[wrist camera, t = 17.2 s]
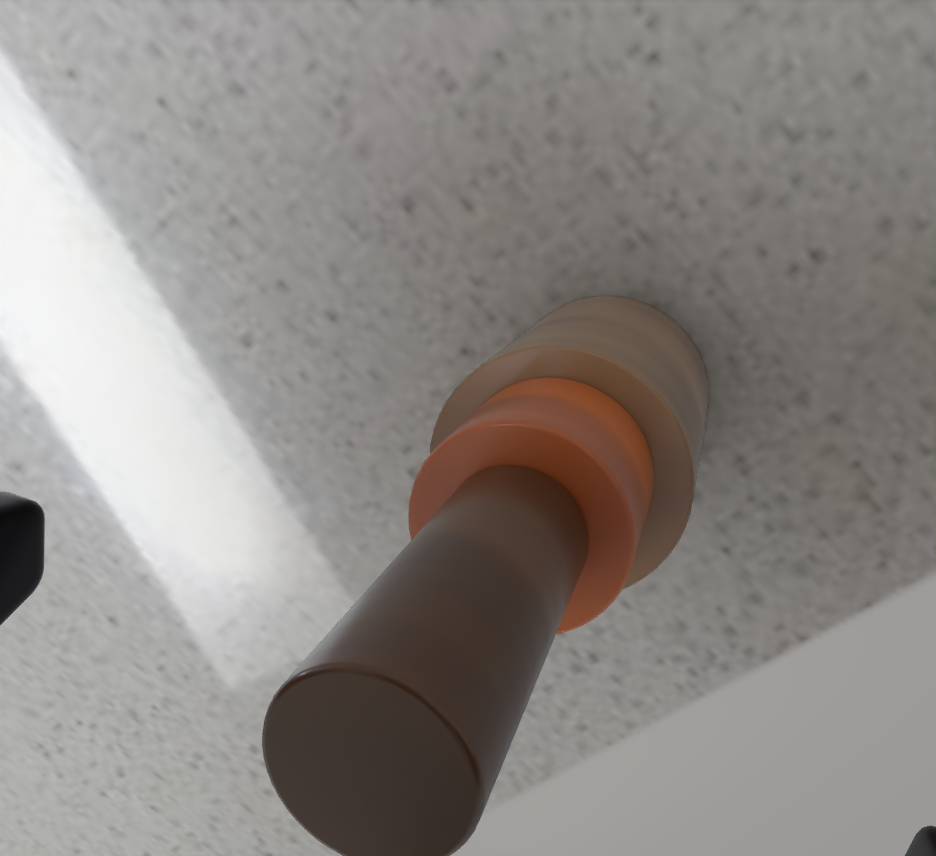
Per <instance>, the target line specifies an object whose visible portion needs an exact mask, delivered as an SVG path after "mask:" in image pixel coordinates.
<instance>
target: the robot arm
mask: <svg viewBox="0 0 936 856" xmlns="http://www.w3.org/2000/svg"><path fill="white" fill-rule="evenodd" d="M44 530H45V517H44V512H43V510H42V507H41V506H40V505H39V504H38V503H37V502H35V501H32V500H30V499H27V498H24V497H21V496H19V495H16V494H13V493H10V492H0V625H1V624H2V623H3V622H4V621H5V620H6V619H7V618H8V617H9V616H10V615H11V614H12V613H13V612H14V611H15V610H16V609H17V608H18V607H19V606H20V605H21V604H22V603H23V602H24V601H25V600H26V599H27V598H28V597H29V596H30V595H31V594H32V593H33V592H34V590H35V589H36V587H37V586H38V584H39V582H40V580H41V578H42V575H43V571H44ZM905 856H936V827H934V826H927V827H924V828H922V829H921V830H920V831H919V832H918V833H917V834H916V836H915V837H914V839H913V841H912V843H911V845H910V847H909V849H908V851H907V853H906V855H905Z"/></svg>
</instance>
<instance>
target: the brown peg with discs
mask: <svg viewBox="0 0 936 856" xmlns="http://www.w3.org/2000/svg"><path fill="white" fill-rule="evenodd" d="M653 488H654V469H653V461H652V457H651V453H650V450H649V447H648V444H647V442H646V440H645V437H644V435H643V434H642V432H641V430H640V428H639V427H638V425H637V424H636V422H635V421H634V420H633V418H632V417H631V416H630V414H629V413H628V412H627V411H626V410H625V409H624V408H623V407H622V406H621V405H620V404H618V403H617V402H616V401H615V400H613V399H612V398H611V397H609V396H608V395H606V394H604V393H603V392H601V391H599V390H598V389H596V388H593V387H591V386H589V385H587V384H584V383H580V382H577V381H574V380H569V379H563V378H547V377H546V378H535V379H530V380H526V381H521V382H518V383H516V384H513V385H511V386H508V387H507V388H505V389H503V390H501V391H499V392H498V393H496V394H495V395H494V396H492V397H491V398H490V399H488V400H487V401H486V402H485V403H484V404H483V405H482V406H481V407H480V408H479V409H477V410H476V411H475V412H474V413H473V414H472V415H471V416H470V417H469V418H468V419H466V420H465V421H464V422H463V423H462V424H461V425H460V426H459V427H458V428H457V429H456V430H454V431H453V432H452V433H451V434H450V435H449V436H448V437H447V438H446V439H445V440H443V441H442V442H441V443H440V444H439V445H438V446H437V447H436V448H435V449H434V450H433V451H432V452H431V453H430V455H429V456H428V457H427V459H426V460H425V462H424V463H423V465H422V466H421V468H420V470H419V472H418V474H417V476H416V479H415V481H414V484H413V487H412V491H411V496H410V501H409V514H408V515H409V530H410V535H411V541H410V542H409V544H408V545H407V546H406V547H405V548H404V549H403V550H402V551H401V553H400V554H399V555H398V556H397V557H396V558H395V559H394V560H393V561H392V563H391V564H390V565H389V566H388V567H387V568H386V569H385V570H384V572H383V573H382V574H381V575H380V576H379V577H378V578H377V579H376V581H375V582H374V583H373V584H372V585H371V586H370V587H369V588H368V590H367V591H366V592H365V593H364V594H363V595H362V596H361V597H360V598H359V600H358V601H357V602H356V603H355V604H354V605H353V606H352V607H351V609H350V610H349V611H348V612H347V613H346V614H345V615H344V616H343V618H342V619H341V620H340V621H339V622H338V623H337V624H336V625H335V626H334V628H333V629H332V630H331V631H330V632H329V633H328V634H327V635H326V637H325V638H324V639H323V640H322V641H321V642H320V643H319V644H318V646H317V647H316V648H315V649H314V650H313V651H312V652H311V653H310V655H309V656H308V657H307V658H306V659H305V660H304V661H303V662H302V663H301V665H300V666H299V667H298V668H297V669H296V670H295V671H294V672H293V674H292V675H291V676H290V677H289V678H288V679H287V680H286V681H285V683H284V684H283V685H282V686H281V687H280V689H279V690H278V691H277V693H276V694H275V695H274V697H273V699H272V701H271V703H270V705H269V707H268V710H267V713H266V716H265V721H264V727H263V737H262V746H263V754H264V760H265V764H266V768H267V772H268V774H269V777H270V779H271V782H272V784H273V786H274V788H275V790H276V792H277V794H278V796H279V797H280V799H281V801H282V802H283V804H284V805H285V807H286V808H287V809H288V811H289V812H290V813H291V814H292V816H293V817H294V818H295V819H296V820H297V821H298V822H299V823H300V824H301V825H302V826H303V827H304V828H305V829H306V830H307V831H308V832H309V833H310V834H311V835H313V836H314V837H315V838H316V839H317V840H319V841H320V842H322V843H323V844H325V845H326V846H327V847H329V848H331V849H332V850H334V851H336V852H338V853H339V854H341V855H343V856H450V855H451V854H453V853H454V852H456V851H457V850H458V849H459V848H460V847H461V846H463V845H464V844H465V843H466V842H467V840H468V839H469V838H470V836H471V835H472V834H473V832H474V831H475V829H476V826H477V824H478V822H479V820H480V818H481V815H482V813H483V810H484V808H485V806H486V803H487V801H488V798H489V796H490V793H491V791H492V789H493V786H494V784H495V781H496V779H497V776H498V774H499V771H500V769H501V767H502V764H503V762H504V759H505V757H506V754H507V752H508V749H509V747H510V745H511V742H512V740H513V737H514V735H515V732H516V730H517V727H518V725H519V723H520V720H521V718H522V715H523V713H524V710H525V708H526V705H527V703H528V701H529V698H530V696H531V693H532V691H533V688H534V686H535V684H536V681H537V679H538V676H539V674H540V671H541V669H542V666H543V664H544V662H545V659H546V657H547V654H548V652H549V649H550V647H551V644H552V642H553V640H554V637H555V635H556V634H558V633H562V632H566V631H569V630H572V629H574V628H577V627H579V626H582V625H584V624H585V623H587V622H589V621H591V620H593V619H594V618H596V617H597V616H598V615H599V614H601V613H602V612H603V611H605V610H606V609H607V608H608V607H609V606H610V604H611V603H612V602H613V601H614V600H615V599H616V598H617V596H618V595H619V593H620V592H621V590H622V589H623V587H624V585H625V583H626V581H627V579H628V577H629V574H630V571H631V568H632V565H633V562H634V558H635V555H636V552H637V548H638V545H639V541H640V538H641V534H642V531H643V527H644V524H645V520H646V517H647V514H648V510H649V507H650V503H651V500H652V494H653Z"/></svg>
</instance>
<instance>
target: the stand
mask: <svg viewBox="0 0 936 856" xmlns="http://www.w3.org/2000/svg"><path fill="white" fill-rule="evenodd" d="M546 377H547V378H563V379H569V380H574V381H577V382H580V383H584V384H587V385H589V386H591V387H593V388H596V389H598V390H599V391H601V392H603V393H604V394H606V395H608V396H609V397H611V398H612V399H613V400H615V401H616V402H617V403H618V404H620V405H621V406H622V407H623V408H624V409H625V410H626V411H627V412H628V413H629V414H630V416H631V417H632V418H633V420H634V421H635V422H636V424H637V425H638V427H639V428H640V430H641V432H642V434H643V435H644V437H645V440H646V442H647V444H648V447H649V450H650V453H651V457H652V461H653V469H654V488H653V494H652V500H651V503H650V507H649V510H648V514H647V517H646V520H645V524H644V527H643V531H642V534H641V538H640V541H639V545H638V548H637V552H636V555H635V558H634V562H633V565H632V568H631V571H630V574H629V577H628V579H627V581H626V583H625V585H624V587H623V589H624V588H627V587H629V586H631V585H633V584H634V583H636V582H638V581H640V580H641V579H643V578H645V577H646V576H647V575H648V574H650V573H651V572H652V571H654V570H655V569H656V568H657V567H658V566H659V565H660V564H661V563H662V562H663V561H664V560H665V559H666V558H667V557H668V555H669V554H670V553H671V551H672V550H673V549H674V547H675V546H676V544H677V543H678V541H679V539H680V537H681V535H682V533H683V531H684V529H685V527H686V524H687V521H688V518H689V515H690V512H691V507H692V502H693V497H694V491H695V485H696V479H697V473H698V467H699V461H700V455H701V449H702V443H703V437H704V431H705V425H706V419H707V413H708V407H709V386H708V378H707V374H706V370H705V366H704V364H703V361H702V358H701V356H700V354H699V352H698V350H697V348H696V347H695V345H694V343H693V342H692V340H691V339H690V338H689V336H688V335H687V334H686V332H685V331H684V330H683V329H682V328H681V327H680V326H679V325H678V324H677V323H676V322H675V321H674V320H672V319H671V318H670V317H668V316H667V315H666V314H664V313H663V312H661V311H659V310H658V309H656V308H654V307H652V306H650V305H648V304H645V303H643V302H640V301H637V300H633V299H629V298H624V297H617V296H596V297H588V298H583V299H580V300H576V301H573V302H570V303H568V304H566V305H563V306H561V307H559V308H558V309H556V310H554V311H552V312H551V313H549V314H548V315H547V316H545V317H544V318H543V319H542V320H540V321H539V322H538V323H536V324H535V325H534V326H532V327H531V328H530V329H528V330H527V331H526V332H524V333H523V334H522V335H521V336H519V337H518V338H517V339H515V340H514V341H513V342H511V343H510V344H509V345H507V346H506V347H505V348H503V349H502V350H501V351H499V352H498V353H497V354H496V355H494V356H493V357H492V358H490V359H489V360H488V361H486V362H485V363H484V364H482V365H481V366H480V367H478V368H477V369H476V370H475V371H473V372H472V373H471V374H469V375H468V376H467V377H466V378H465V379H464V380H463V381H462V382H461V383H460V384H459V385H458V386H457V387H456V388H455V390H454V391H453V393H452V394H451V395H450V397H449V398H448V399H447V401H446V403H445V405H444V406H443V408H442V410H441V412H440V414H439V416H438V419H437V422H436V425H435V427H434V430H433V435H432V440H431V444H430V453H431V452H432V451H433V450H434V449H435V448H436V447H437V446H438V445H439V444H440V443H441V442H442V441H443V440H445V439H446V438H447V437H448V436H449V435H450V434H451V433H452V432H453V431H454V430H456V429H457V428H458V427H459V426H460V425H461V424H462V423H463V422H464V421H465V420H466V419H468V418H469V417H470V416H471V415H472V414H473V413H474V412H475V411H476V410H477V409H479V408H480V407H481V406H482V405H483V404H484V403H485V402H486V401H487V400H488V399H490V398H491V397H492V396H494V395H495V394H496V393H498V392H499V391H501V390H503V389H505V388H507V387H508V386H511V385H513V384H516V383H518V382H521V381H526V380H530V379H535V378H546Z"/></svg>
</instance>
